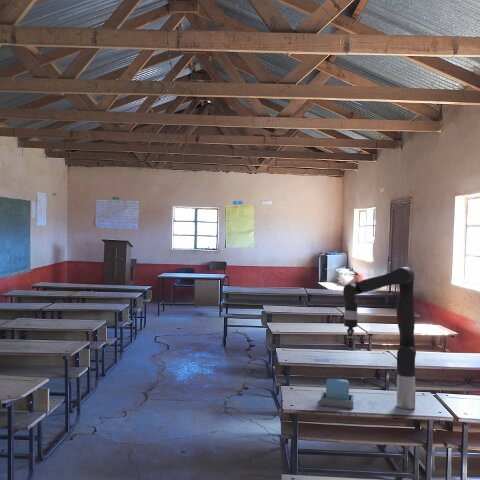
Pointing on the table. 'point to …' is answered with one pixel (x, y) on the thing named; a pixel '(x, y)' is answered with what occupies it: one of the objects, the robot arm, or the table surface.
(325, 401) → the holder tray
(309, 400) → the table surface
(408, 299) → the robot arm
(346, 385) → the light blue flat block
